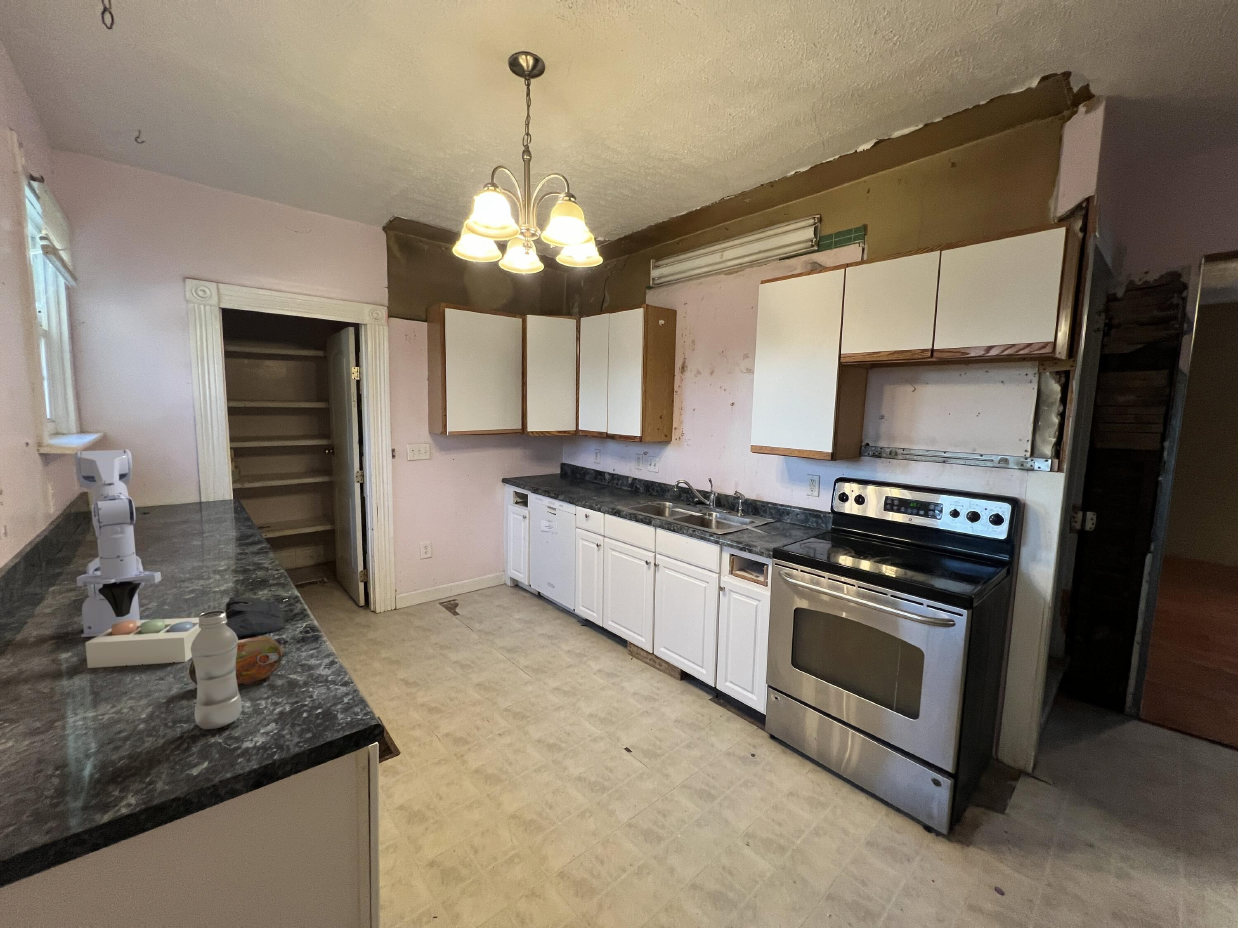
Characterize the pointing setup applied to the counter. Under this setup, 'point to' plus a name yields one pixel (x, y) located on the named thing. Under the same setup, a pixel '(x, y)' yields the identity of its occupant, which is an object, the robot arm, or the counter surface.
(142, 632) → the sage green button
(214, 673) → the plastic bottle
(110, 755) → the counter surface
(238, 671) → the tin
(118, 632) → the terracotta button
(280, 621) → the black fabric pouch
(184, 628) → the slate blue button
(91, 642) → the button console
